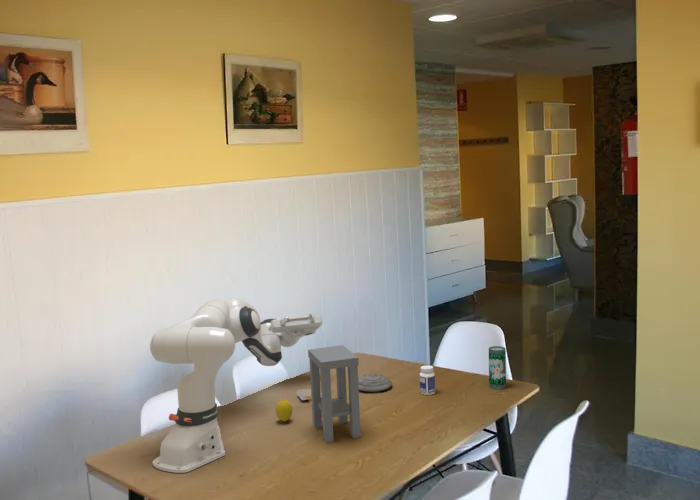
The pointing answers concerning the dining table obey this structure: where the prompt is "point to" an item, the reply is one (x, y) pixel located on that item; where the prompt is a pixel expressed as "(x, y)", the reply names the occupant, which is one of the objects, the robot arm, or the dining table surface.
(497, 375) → the can
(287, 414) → the lemon
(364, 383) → the flying saucer
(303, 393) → the turner
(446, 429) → the dining table surface
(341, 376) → the stool
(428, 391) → the pill bottle
